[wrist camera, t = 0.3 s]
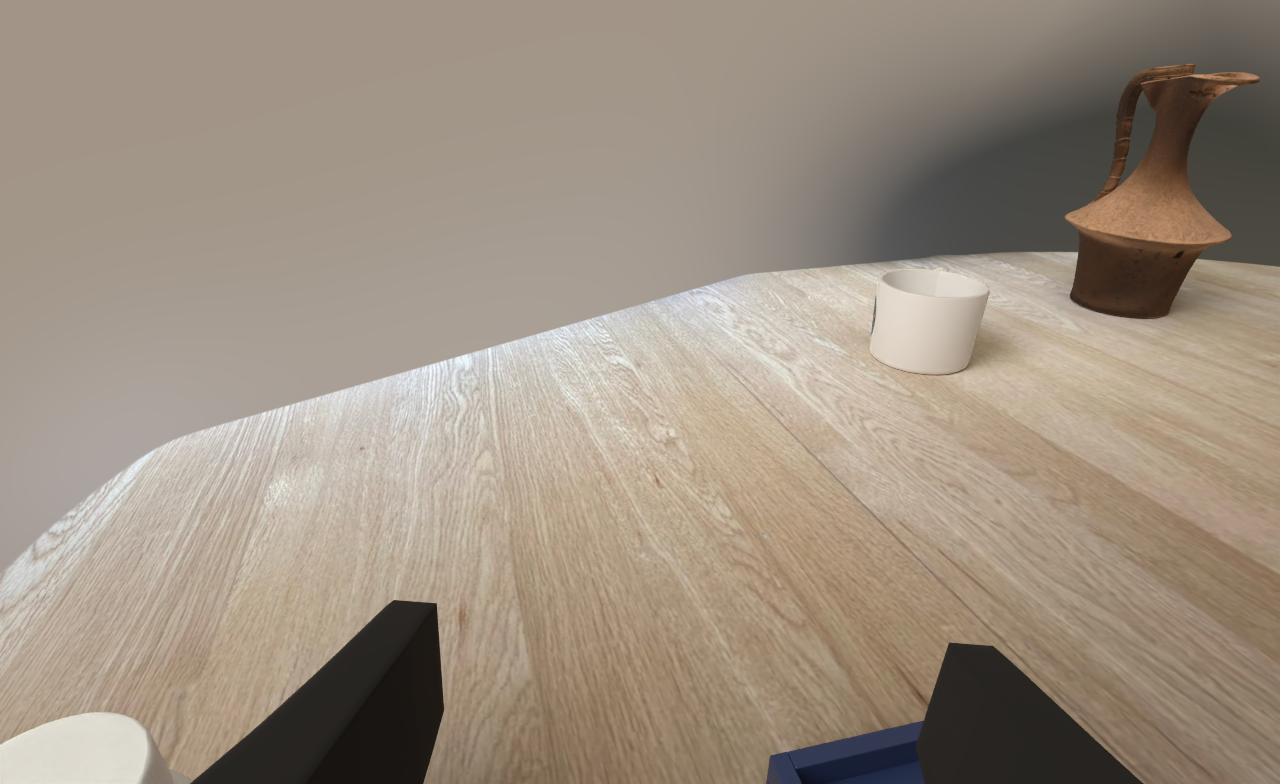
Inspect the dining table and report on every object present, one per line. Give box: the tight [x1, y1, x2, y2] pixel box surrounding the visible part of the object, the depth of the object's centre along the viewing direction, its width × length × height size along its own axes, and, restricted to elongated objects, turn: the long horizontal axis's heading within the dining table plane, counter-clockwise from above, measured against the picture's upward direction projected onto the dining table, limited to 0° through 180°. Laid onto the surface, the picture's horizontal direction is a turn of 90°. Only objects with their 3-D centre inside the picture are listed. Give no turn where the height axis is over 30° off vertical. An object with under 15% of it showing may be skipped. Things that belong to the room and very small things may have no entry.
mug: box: [870, 267, 990, 375], centre depth 70 cm, size 13×10×8 cm
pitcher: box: [1065, 64, 1260, 318], centre depth 80 cm, size 18×17×28 cm
